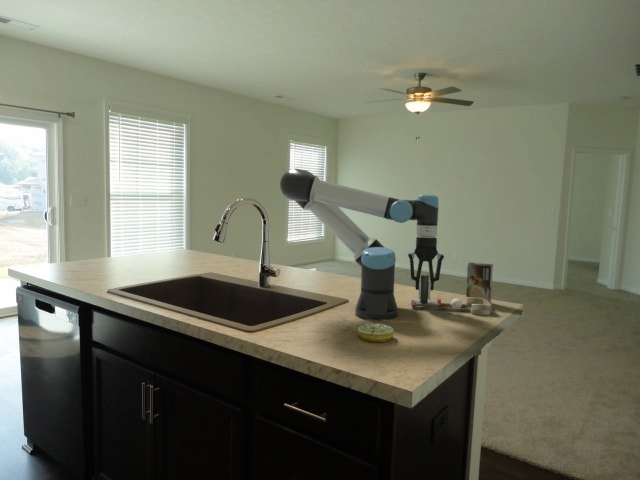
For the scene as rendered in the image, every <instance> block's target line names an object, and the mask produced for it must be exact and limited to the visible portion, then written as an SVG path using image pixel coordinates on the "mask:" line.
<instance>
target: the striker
mask: <svg viewBox="0 0 640 480" xmlns="http://www.w3.org/2000/svg"><path fill="white" fill-rule="evenodd" d="M420 281H421V299H419V300H414V301H415V305H416V306H428V307H441V303H442V298H441V297H440V296H436V301H429V300H428V282H429V281H430V274H429V275H428V274H420Z"/></svg>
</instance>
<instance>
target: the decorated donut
mask: <svg viewBox="0 0 640 480" xmlns="http://www.w3.org/2000/svg"><path fill="white" fill-rule="evenodd" d="M394 334H395V331H394V328H393V327H392V326H389V325H387V324H383V323H378V322H375V323H373V322H371V323H369V322H367V323H363V324H360V326H359V327H358V328H357V335H358V336H359V338H361V340H364V341H365V340H366V341H365V342H369V341H371V342H370V343H376V342H380V343H386V342H389V341H390V340H391V339H392V338H393V336H394Z"/></svg>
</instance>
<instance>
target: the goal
mask: <svg viewBox="0 0 640 480" xmlns="http://www.w3.org/2000/svg"><path fill="white" fill-rule="evenodd" d="M465 304H467V307H471V314H470V315H480V316H483V315H484V316H485V315H486V316H492V315H493V305H492V303H491V304H490V303H489V302H488V301H487V300H486V299H485V298H474V297H466V296H465Z"/></svg>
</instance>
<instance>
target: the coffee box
mask: <svg viewBox="0 0 640 480" xmlns="http://www.w3.org/2000/svg"><path fill="white" fill-rule="evenodd" d="M493 267H494V265H493V263H481V262H469V263H467V267H466V269H467V270H466V272H467V273H466V291H465V293H466V296H465V298H466V297H474V298H485V299H486V300H487V301H488V302H489V303H490V304H491V305H492V295H493V294H492V293H493V289H492V287H493V271H494V270H493Z"/></svg>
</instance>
